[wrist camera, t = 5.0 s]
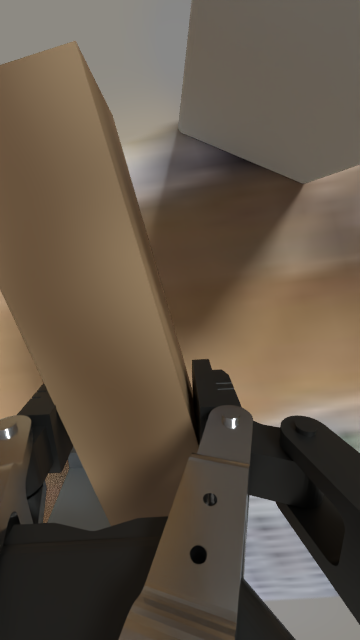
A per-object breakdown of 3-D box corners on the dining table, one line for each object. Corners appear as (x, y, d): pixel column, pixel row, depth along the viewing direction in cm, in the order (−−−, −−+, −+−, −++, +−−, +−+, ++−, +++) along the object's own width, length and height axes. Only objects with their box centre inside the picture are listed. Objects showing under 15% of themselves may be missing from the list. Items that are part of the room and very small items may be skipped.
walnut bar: (112, 115, 10) (75, 40, 6) (229, 516, 16) (247, 606, 12) (8, 147, 10) (-91, 94, 6) (160, 531, 16) (157, 625, 12)
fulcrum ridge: (192, 437, 23) (202, 519, 17) (193, 500, 25) (202, 596, 19) (70, 443, 23) (31, 531, 16) (82, 507, 25) (52, 607, 18)
